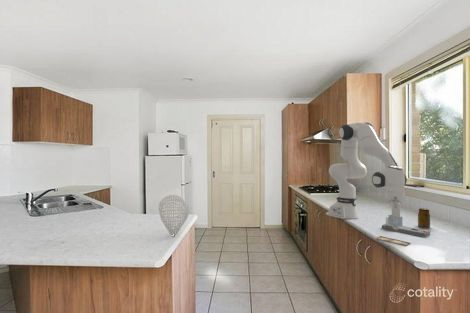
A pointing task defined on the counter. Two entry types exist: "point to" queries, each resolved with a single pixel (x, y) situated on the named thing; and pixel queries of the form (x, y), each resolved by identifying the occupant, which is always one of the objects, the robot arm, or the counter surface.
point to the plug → (387, 221)
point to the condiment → (424, 218)
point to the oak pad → (393, 241)
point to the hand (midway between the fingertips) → (395, 222)
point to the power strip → (408, 230)
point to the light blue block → (390, 222)
